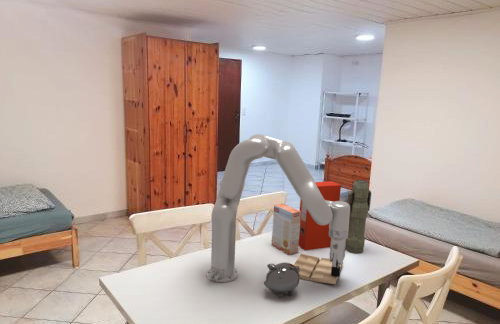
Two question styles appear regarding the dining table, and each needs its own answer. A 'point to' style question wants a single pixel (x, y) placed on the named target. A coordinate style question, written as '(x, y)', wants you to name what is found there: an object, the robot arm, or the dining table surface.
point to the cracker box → (286, 228)
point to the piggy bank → (282, 278)
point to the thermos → (358, 216)
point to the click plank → (324, 272)
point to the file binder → (309, 229)
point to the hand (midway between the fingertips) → (335, 275)
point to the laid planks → (307, 266)
